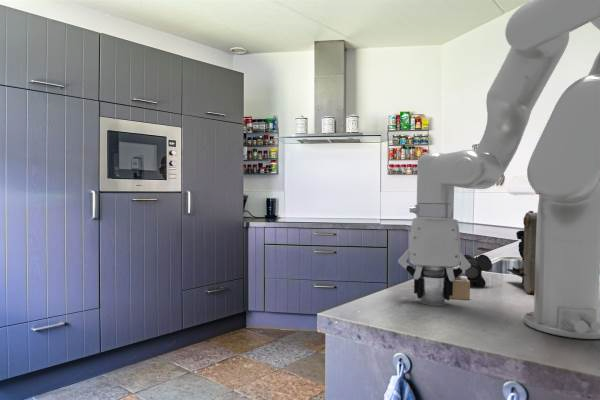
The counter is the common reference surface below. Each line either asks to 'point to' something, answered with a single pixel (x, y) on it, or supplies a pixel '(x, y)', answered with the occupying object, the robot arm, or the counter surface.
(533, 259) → the vintage camera
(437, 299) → the lens
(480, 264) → the night vision scope
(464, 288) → the mount
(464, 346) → the counter surface
